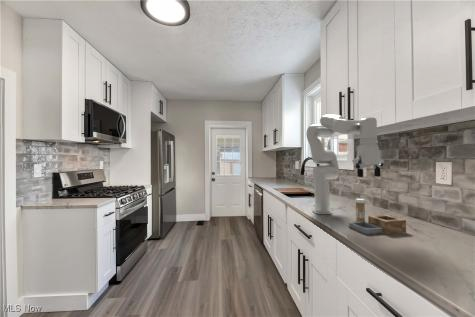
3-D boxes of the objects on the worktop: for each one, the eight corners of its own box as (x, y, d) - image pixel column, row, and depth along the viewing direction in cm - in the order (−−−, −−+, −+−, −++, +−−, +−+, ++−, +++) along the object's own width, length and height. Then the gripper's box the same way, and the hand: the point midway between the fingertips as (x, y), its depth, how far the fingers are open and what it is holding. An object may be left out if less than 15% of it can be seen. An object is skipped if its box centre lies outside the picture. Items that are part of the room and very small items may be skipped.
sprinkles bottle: (364, 225, 119) (363, 200, 119) (354, 223, 122) (354, 199, 122) (366, 223, 122) (365, 198, 122) (357, 221, 125) (356, 198, 125)
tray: (349, 227, 115) (348, 222, 115) (364, 226, 117) (364, 221, 117) (366, 234, 103) (366, 229, 103) (382, 233, 105) (382, 228, 105)
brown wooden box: (368, 227, 114) (368, 215, 114) (386, 226, 116) (386, 214, 116) (386, 234, 103) (386, 221, 104) (406, 232, 105) (405, 220, 106)
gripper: (377, 143, 116) (378, 175, 116) (347, 143, 113) (348, 176, 113) (389, 142, 108) (390, 176, 108) (358, 142, 105) (358, 177, 105)
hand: (368, 176), depth 110 cm, fingers open, 9 cm apart
